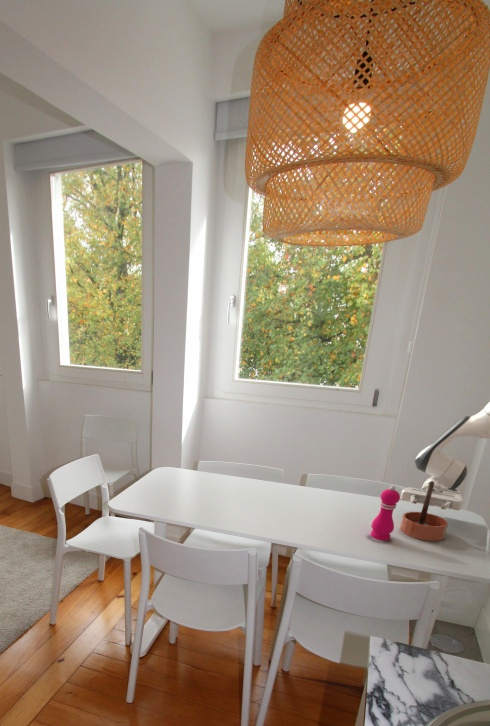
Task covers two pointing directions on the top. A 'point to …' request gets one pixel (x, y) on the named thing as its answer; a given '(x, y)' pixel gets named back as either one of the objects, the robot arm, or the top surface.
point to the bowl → (423, 526)
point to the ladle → (426, 503)
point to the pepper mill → (385, 515)
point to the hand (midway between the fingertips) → (428, 504)
